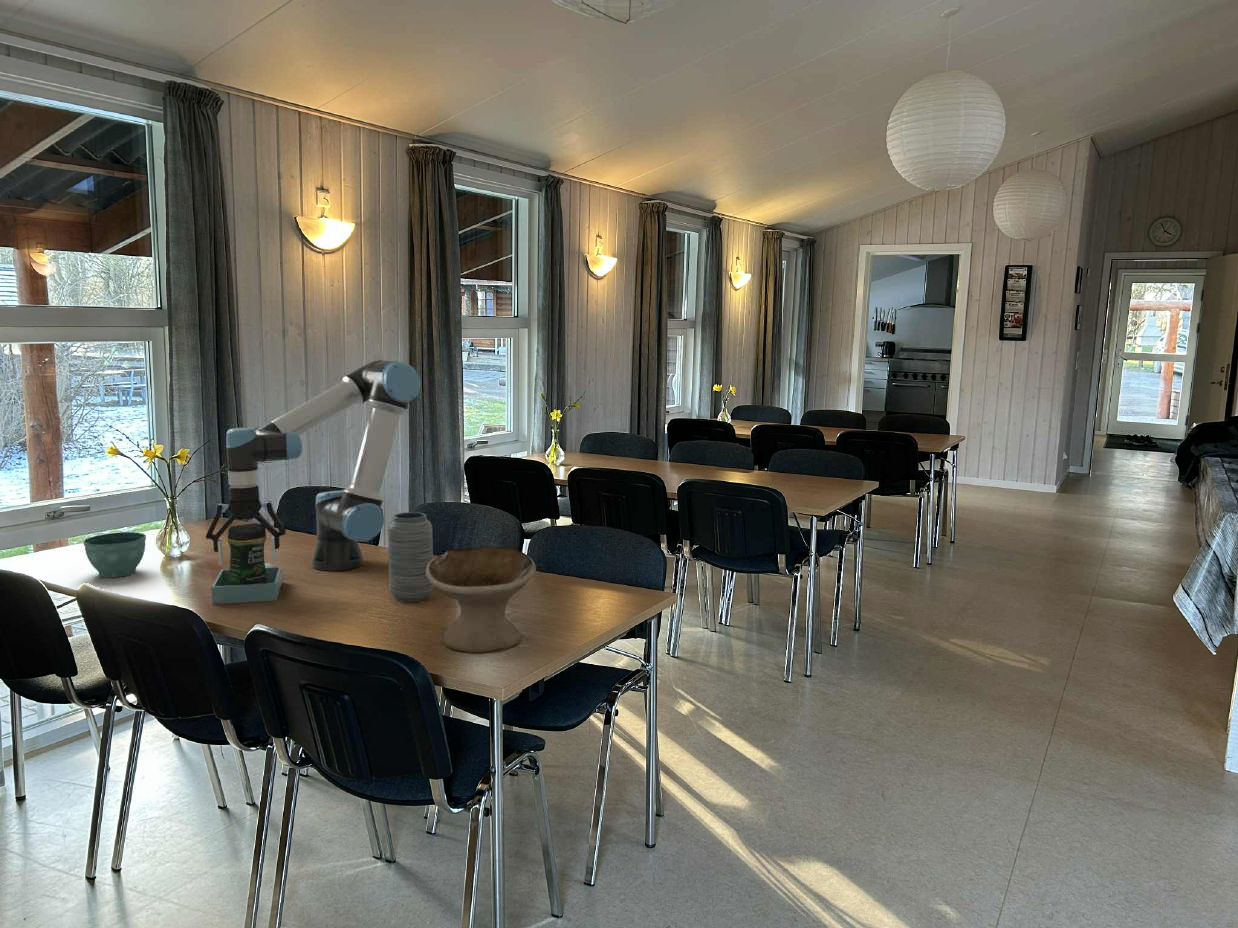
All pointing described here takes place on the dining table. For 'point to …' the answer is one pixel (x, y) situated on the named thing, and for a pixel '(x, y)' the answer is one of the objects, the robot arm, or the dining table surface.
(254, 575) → the coffee jar
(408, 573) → the vase
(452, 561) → the bowl
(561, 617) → the dining table surface
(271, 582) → the bin
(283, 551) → the dining table surface
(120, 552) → the green bowl
